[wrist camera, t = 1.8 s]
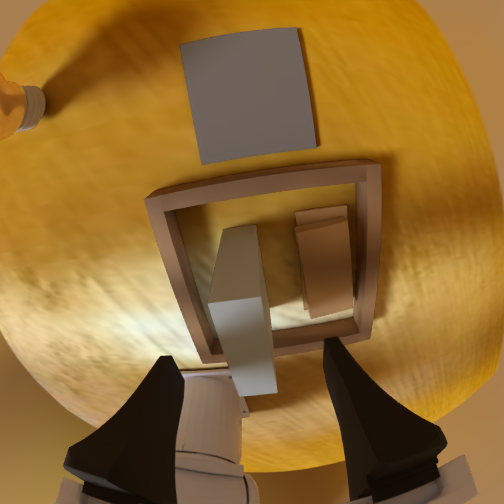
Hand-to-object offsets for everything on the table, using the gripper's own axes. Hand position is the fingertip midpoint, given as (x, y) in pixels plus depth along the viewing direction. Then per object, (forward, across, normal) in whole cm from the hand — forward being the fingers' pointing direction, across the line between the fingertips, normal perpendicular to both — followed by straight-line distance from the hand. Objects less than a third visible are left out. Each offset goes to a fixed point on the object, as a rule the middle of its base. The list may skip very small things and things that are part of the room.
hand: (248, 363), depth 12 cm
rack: (+8, -2, 0) cm, 9 cm away
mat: (+8, -2, -12) cm, 15 cm away
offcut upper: (+8, -5, 0) cm, 10 cm away
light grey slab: (+8, 0, 0) cm, 9 cm away
